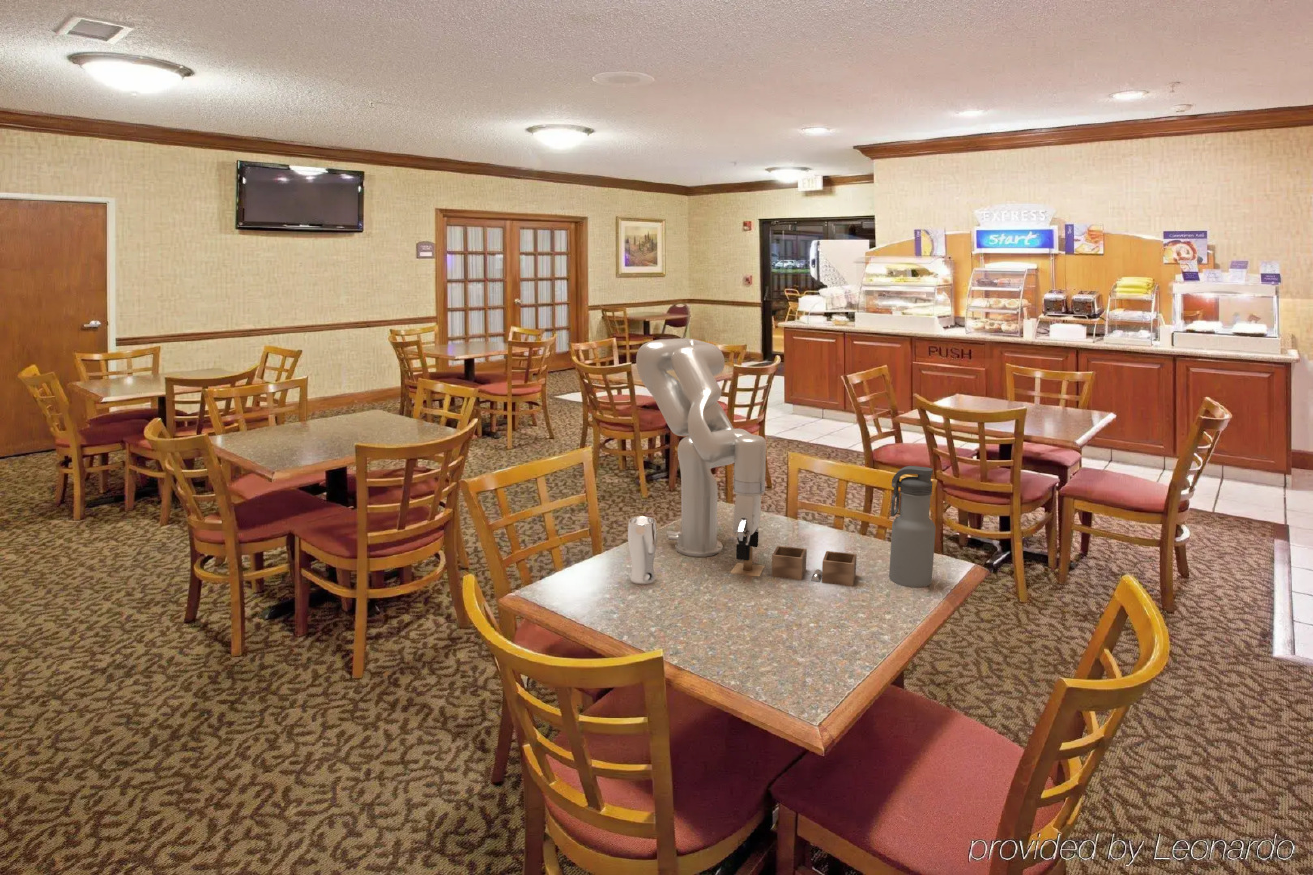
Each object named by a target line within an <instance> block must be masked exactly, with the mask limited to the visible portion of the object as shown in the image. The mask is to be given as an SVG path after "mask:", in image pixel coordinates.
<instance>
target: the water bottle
mask: <svg viewBox="0 0 1313 875" xmlns="http://www.w3.org/2000/svg"><path fill="white" fill-rule="evenodd" d="M933 472H934V469H933V468H931V467H927V466H926V467H925V466H917V465H914V466H913V465H907V466H904V467H902V468H900V469H899V470H898V471H897V472H896V473H895V474H894V476H893V477H892V479H891V487H892V488H893V494H892V496H891V506H890V507H891V508H890V516H891V517H895V518H894V519H893V521H892V524H891V537H890V540H891V542H890V554H889V555H890V558H889V574H888V576H889V579H890V581H891V582H893V583H894V584H896V585H899V586H901V587H902V586H903V587H907V588H924V587H929V586H930V585H932V581H933V573H934V572H933V571H934V570H933V568H934V555H935V541H936V525H935V522H934V521H933V520H932V519H930V509H931V508H930V507H931V496H932V495H933V493H932V492H933V481H932V476H933ZM905 475H914V476H906V477H903V478H901V477H902V476H905ZM915 475H917V476H915ZM900 479H901V480H900ZM899 488H900V490H899ZM898 512H899V515H898V516H897V517H896V515H897V514H898Z"/></svg>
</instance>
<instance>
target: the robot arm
mask: <svg viewBox="0 0 1313 875" xmlns="http://www.w3.org/2000/svg"><path fill="white" fill-rule="evenodd" d="M635 361H636V370H637V374H638V376H639V378H640V381H641V382H642V384H643V385H644V386H645V388H646V390H647V391H649V393H650V394H651V396H652V398H653V399H654V401H655V403H656V405H657V407H658V409H659V410H660V412H661V414H662V416H663V418H664V421H665V423H666V424H667V426H668V428H669V429H670V431H671V432H672V433H673V434H674V435H676V436H679V437H683V438H682V439H681V440H680V441H679V443H678V445H677V458H678V463H679V468H680V478H681V480H680V481H681V482H680V483H681V485H680V486H681V489H680V490H681V492H680V493H681V498H680V500H681V502H680V504H681V512H680V513H681V517H680V518H681V519H680V520H681V521H680V522H681V530H678V531H674V530H667V531H666V537H667V538H668V540H669V541H676V543H675V550H676V552H678V553H680V554H681V555H685V556H688V557H699V558H701V557H703V558H704V557H705V558H706V557H711V556H714V555H715V556H716V555H718V554H719V553H720V552H722V551H723V546H724V545H723V543H721V541H719V540H718V483H717V480H716V478H715V477H714V475H713V473H712V471H711V469H714V468H718V467H724V466H729V465H733V464H734V467H733V468H734V469H733V493H734V494H736V496H735V501H734V502H735V503H734V508H733V509H734V512H733V524H732V525H733V526H732V532H733V534H734V535H735V534H737V537H736V552H735V553H736V554H735V555H736V557H735V558H736V560H740V561H743V560H746V561H748V560H749V559H750V547H752V548H758V546H759V526H760V524H761V523H760V522H761V510H762V509H761V508H762V507H761V506H762V504H761V503H762V501H761V497H762V495H764V494H765V493H766V492H765V491H766V468H767V466H766V464H767V463H766V462H767V441H766V439H765V437H763V436H761V435H757V434H752V433H751V432H749V431H747V430H745V429H743V428H734V426H733V425H732V423H731V421H730V419H729V417H728V416H727V414H726V411H725V410H724V409H723V407H722V406H721V404H720V403H719V402H718V401H719V400H720V398H722V397H721V396H722V389H721V387H720V385H719V384H718V382H717V379H716V377H715V376H717V375H719V374H721V373H722V371H723V370H724V368H725V364H726V362H725V356H724V354H723V352H722V350H721V349H720V348H719V347H718V346H717V345H715V344H713V343H709V342H706V341H702V340H698V339H695V338H672V339H671V338H668V339H656V340H650V341H648V342H646V343H643V344H642V345H641V346H640V347H639V348H638V350H637V353H636V359H635ZM668 371H674V373H675V376H676V377H677V378H676V377H674V376H673V375H671V374H670V373H668Z"/></svg>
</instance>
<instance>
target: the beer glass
mask: <svg viewBox="0 0 1313 875" xmlns="http://www.w3.org/2000/svg"><path fill="white" fill-rule="evenodd" d="M627 526H628V527H627V543H628V544H627V546H628V551H629V556H630V563H631V573H630V577H629V581H630V582H631V583H633V584H636V585H649V584H652V583H654V582H655V581H656V575H655V569H654V564H655V558H656V557H655V556H656V551H657V544H658V533H657V531H658V530H657V520H656V519H655V518H654V517H650V516H634V517H631V518H629V520H628V525H627Z"/></svg>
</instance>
